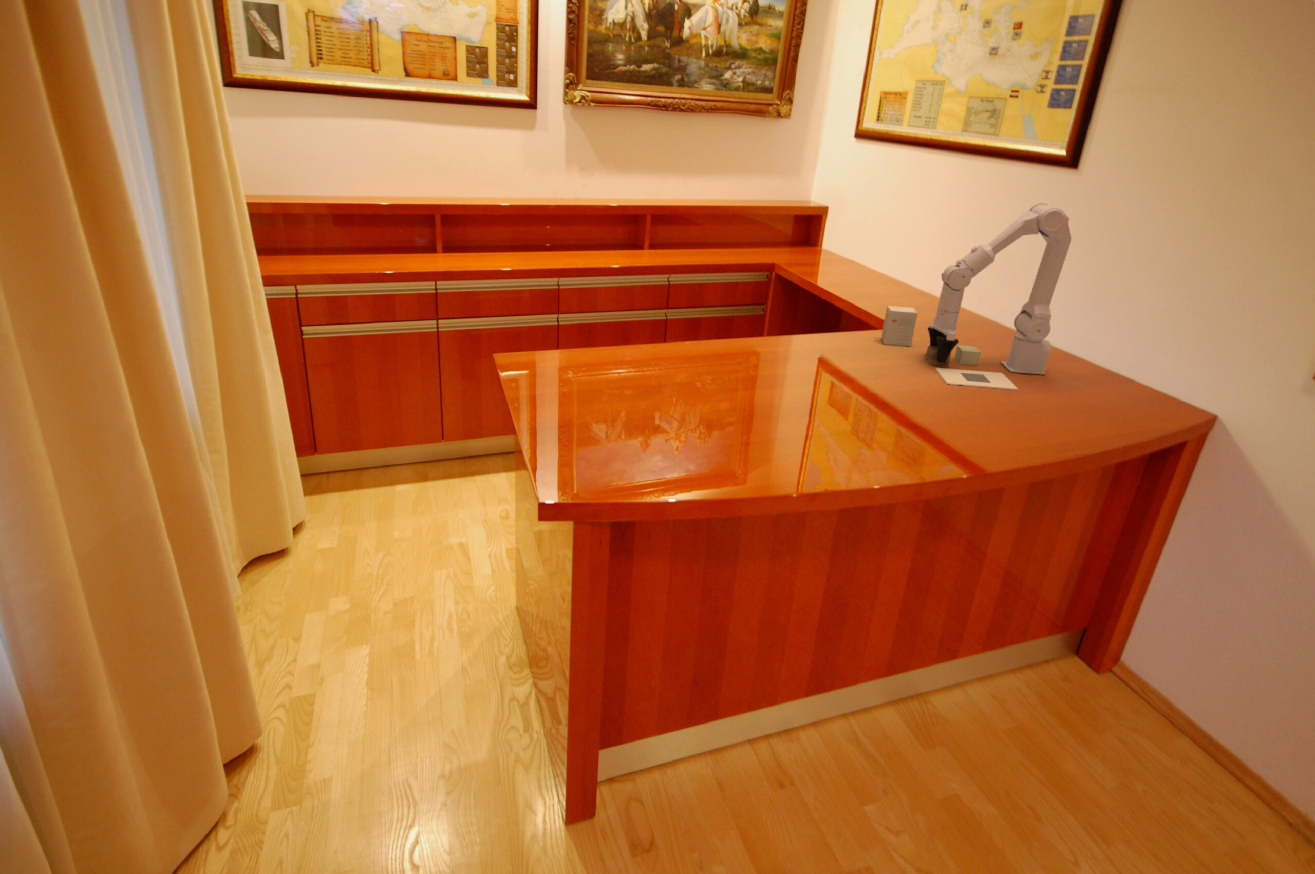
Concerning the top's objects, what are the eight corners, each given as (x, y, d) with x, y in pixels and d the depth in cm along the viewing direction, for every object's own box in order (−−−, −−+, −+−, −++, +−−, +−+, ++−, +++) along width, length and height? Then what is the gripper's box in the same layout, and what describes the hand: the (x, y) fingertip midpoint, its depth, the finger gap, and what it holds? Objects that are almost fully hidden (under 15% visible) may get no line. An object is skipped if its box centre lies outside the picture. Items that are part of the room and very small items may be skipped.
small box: (907, 341, 226) (914, 307, 222) (910, 347, 221) (918, 312, 217) (880, 339, 227) (886, 305, 222) (883, 344, 222) (890, 310, 217)
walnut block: (942, 360, 211) (945, 347, 210) (947, 366, 207) (951, 353, 205) (925, 359, 211) (928, 346, 210) (929, 365, 207) (932, 351, 205)
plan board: (1001, 374, 203) (1002, 372, 203) (1017, 390, 192) (1018, 388, 192) (934, 369, 204) (935, 367, 203) (947, 384, 193) (947, 382, 193)
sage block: (971, 359, 214) (975, 346, 212) (977, 365, 209) (980, 352, 207) (954, 358, 214) (957, 345, 212) (959, 364, 209) (962, 350, 208)
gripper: (926, 302, 209) (916, 348, 215) (940, 316, 196) (929, 364, 202) (952, 304, 209) (941, 350, 215) (967, 318, 196) (956, 367, 202)
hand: (937, 357), depth 208 cm, fingers open, 7 cm apart
